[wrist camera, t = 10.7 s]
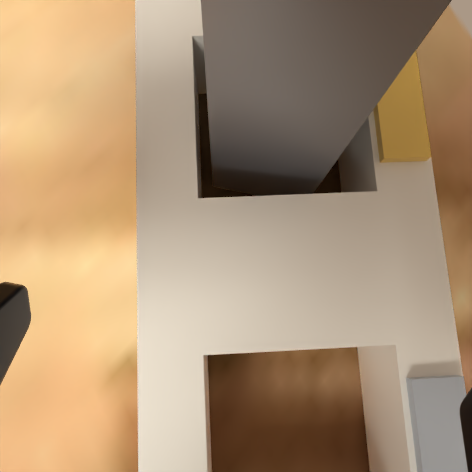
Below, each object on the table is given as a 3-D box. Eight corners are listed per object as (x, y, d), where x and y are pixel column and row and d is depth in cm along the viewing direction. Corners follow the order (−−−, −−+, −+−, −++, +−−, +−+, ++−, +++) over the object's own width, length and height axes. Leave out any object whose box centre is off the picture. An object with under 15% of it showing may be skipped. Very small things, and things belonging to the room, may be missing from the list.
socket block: (434, 574, 16) (514, 668, 12) (160, 595, 15) (136, 701, 11) (368, 39, 20) (408, -38, 16) (152, 45, 20) (132, -33, 15)
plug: (304, 205, 18) (542, -127, 5) (212, 186, 19) (188, -199, 5) (319, 121, 19) (563, -374, 6) (232, 102, 19) (258, -436, 6)
